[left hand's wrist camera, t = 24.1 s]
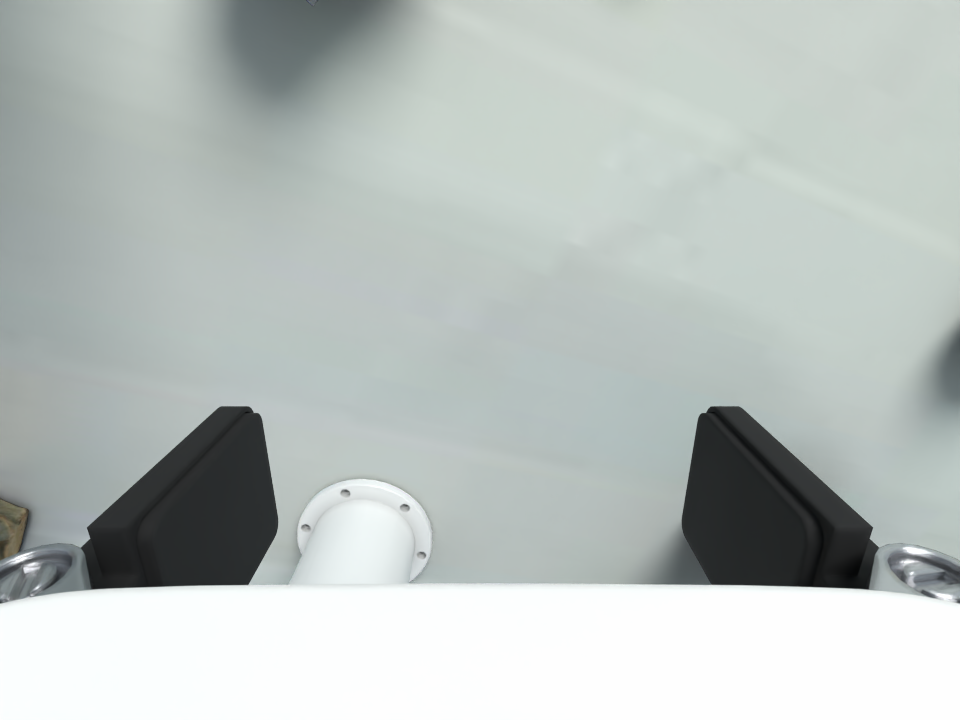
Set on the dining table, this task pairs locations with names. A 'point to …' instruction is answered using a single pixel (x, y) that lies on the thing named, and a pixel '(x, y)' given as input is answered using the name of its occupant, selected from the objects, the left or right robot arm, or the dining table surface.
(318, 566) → the left robot arm
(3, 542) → the statue
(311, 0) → the toy
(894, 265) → the dining table surface
